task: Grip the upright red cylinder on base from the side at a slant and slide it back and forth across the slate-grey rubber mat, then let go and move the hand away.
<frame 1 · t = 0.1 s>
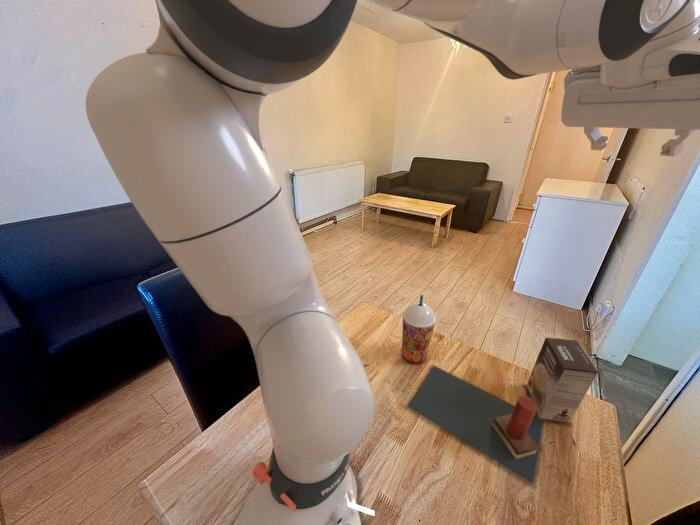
hand: (631, 151, 46), 54 cm above the table, tool tilted 30°, fingers open, 8 cm apart
red cylinder on base: (512, 438, 58), point 1 cm above the table, touching mat
mat: (473, 414, 63), on the table
smoothie: (413, 356, 79), on the table
coffee box: (545, 404, 66), on the table
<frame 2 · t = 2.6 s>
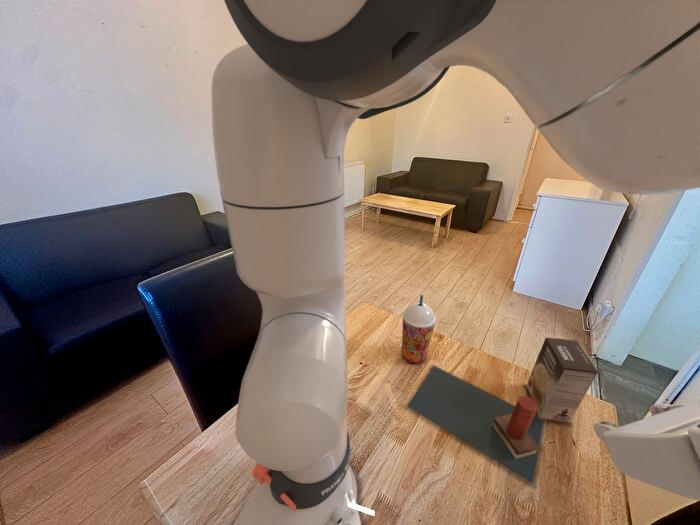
hand: (627, 420, 37), 24 cm above the table, tool tilted 45°, fingers open, 8 cm apart
nothing on the table moved.
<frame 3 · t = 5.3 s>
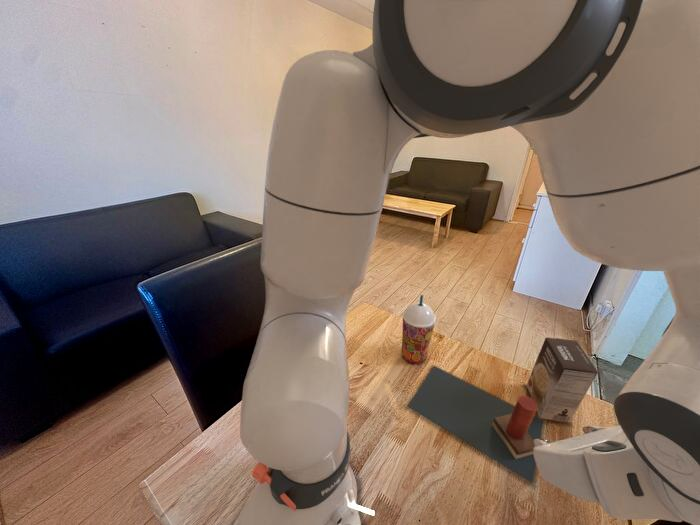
hand: (563, 437, 46), 13 cm above the table, tool tilted 45°, fingers open, 8 cm apart
nothing on the table moved.
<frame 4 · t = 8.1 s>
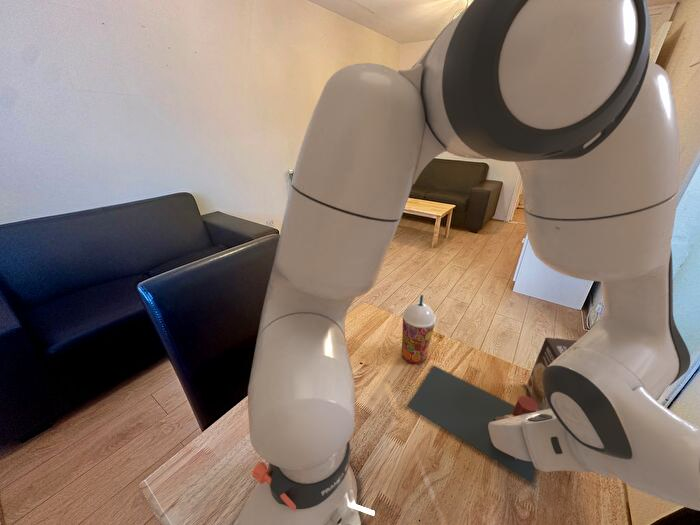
hand: (518, 417, 56), 7 cm above the table, tool tilted 45°, fingers closed on red cylinder on base, 3 cm apart
red cylinder on base: (512, 438, 58), point 1 cm above the table, touching gripper, mat
everything else where it was.
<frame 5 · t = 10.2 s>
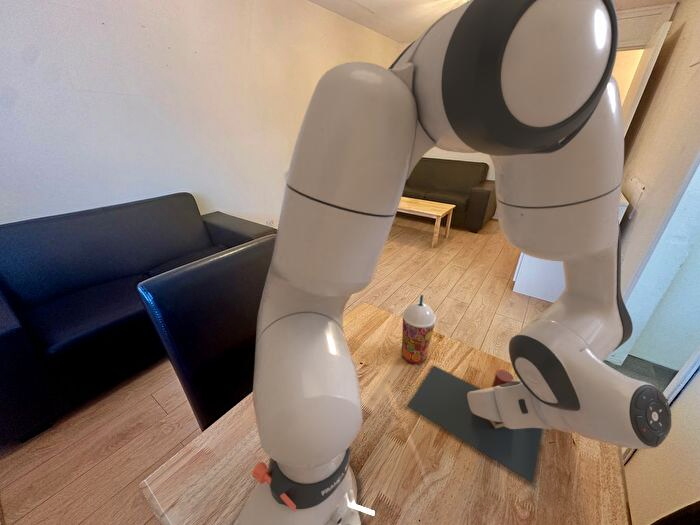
hand: (496, 390, 61), 7 cm above the table, tool tilted 45°, fingers closed on red cylinder on base, 3 cm apart
red cylinder on base: (493, 412, 63), point 1 cm above the table, touching gripper
everything else where it was.
when the fingers open (6 cm above the table, at t = 12.5 s): red cylinder on base stays where it is, resting on mat.
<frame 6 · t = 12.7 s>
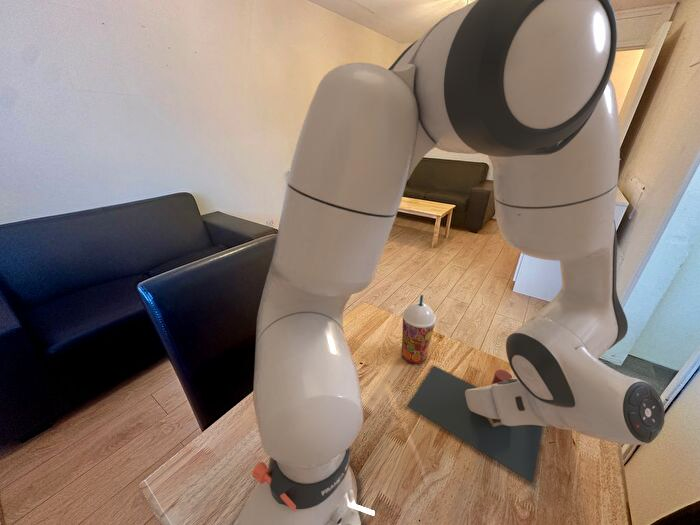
hand: (494, 388, 62), 6 cm above the table, tool tilted 45°, fingers open, 5 cm apart
red cylinder on base: (491, 410, 64), point 1 cm above the table, touching mat
everything else where it was.
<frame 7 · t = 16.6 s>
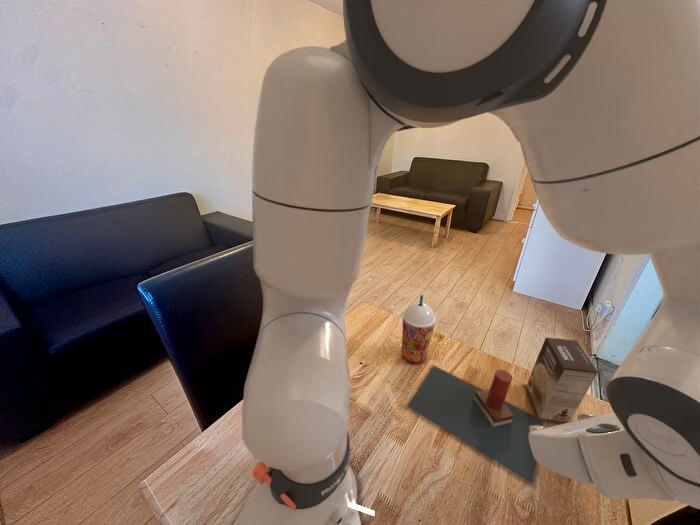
hand: (558, 425, 46), 14 cm above the table, tool tilted 45°, fingers open, 8 cm apart
nothing on the table moved.
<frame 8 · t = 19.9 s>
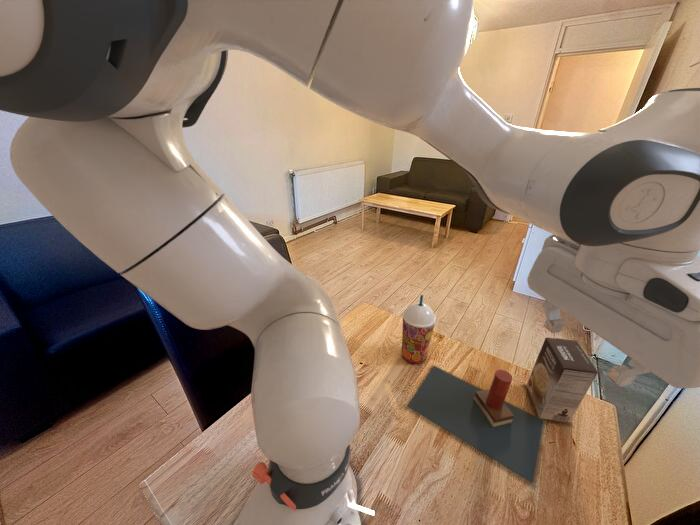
hand: (581, 352, 38), 31 cm above the table, tool pointing down, fingers open, 8 cm apart
nothing on the table moved.
at the end: red cylinder on base moved 6.5 cm from its start; red cylinder on base inside the target area (3.6 cm from its centre), point 0.6 cm above the table; red cylinder on base tilted 0° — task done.
